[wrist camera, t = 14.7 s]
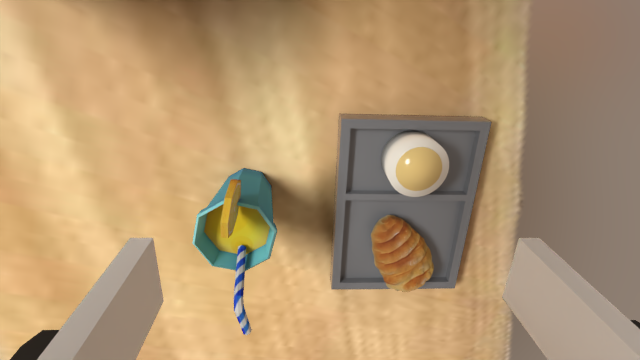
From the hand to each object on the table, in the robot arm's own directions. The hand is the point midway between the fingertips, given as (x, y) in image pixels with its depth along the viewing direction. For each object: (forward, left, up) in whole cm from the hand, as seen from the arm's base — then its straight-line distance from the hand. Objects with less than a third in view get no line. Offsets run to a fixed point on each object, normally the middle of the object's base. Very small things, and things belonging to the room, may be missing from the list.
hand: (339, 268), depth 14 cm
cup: (-7, -11, -29) cm, 32 cm away
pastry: (+11, -18, -27) cm, 34 cm away
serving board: (+11, -12, -29) cm, 33 cm away
